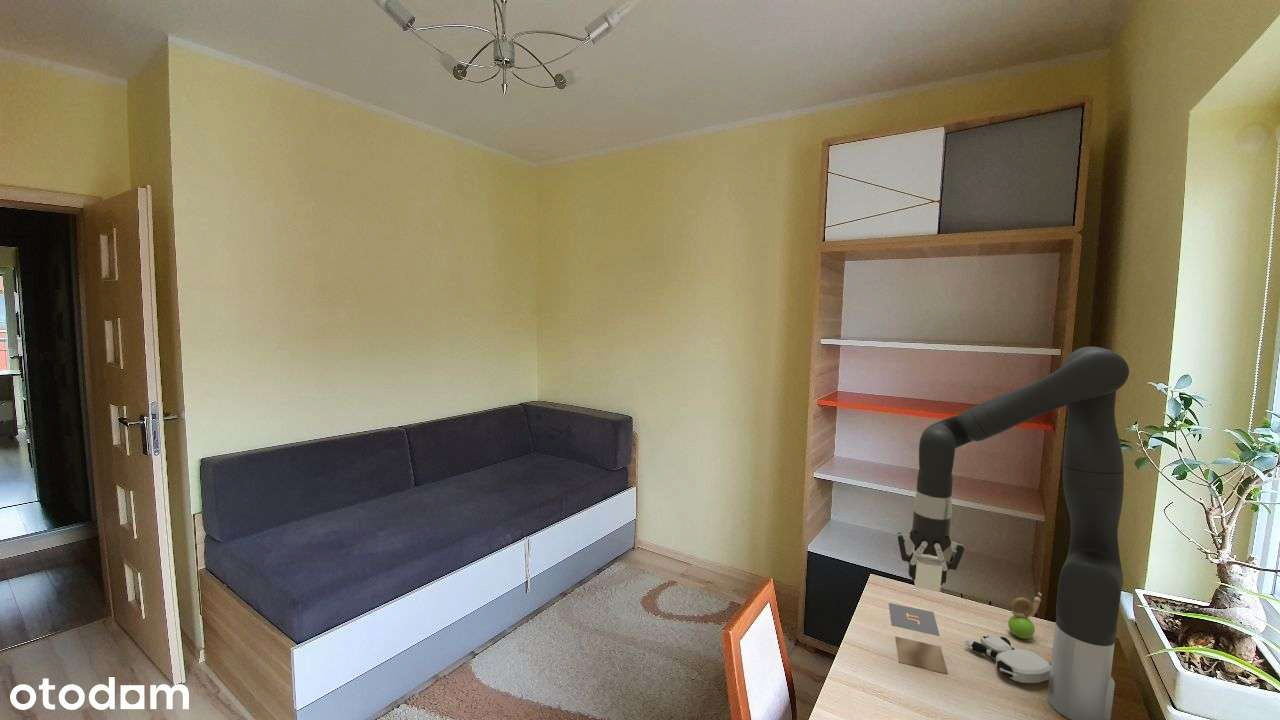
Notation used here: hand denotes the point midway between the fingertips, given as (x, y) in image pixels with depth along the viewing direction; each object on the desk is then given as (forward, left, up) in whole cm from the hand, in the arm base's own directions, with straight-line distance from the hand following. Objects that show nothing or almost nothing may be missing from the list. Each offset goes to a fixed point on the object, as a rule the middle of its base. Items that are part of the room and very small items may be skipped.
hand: (926, 580), depth 122 cm
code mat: (0, -15, -19) cm, 24 cm away
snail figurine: (-25, -18, -19) cm, 36 cm away
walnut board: (0, 0, -19) cm, 19 cm away
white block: (0, 0, -1) cm, 1 cm away
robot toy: (-19, -4, -19) cm, 27 cm away
